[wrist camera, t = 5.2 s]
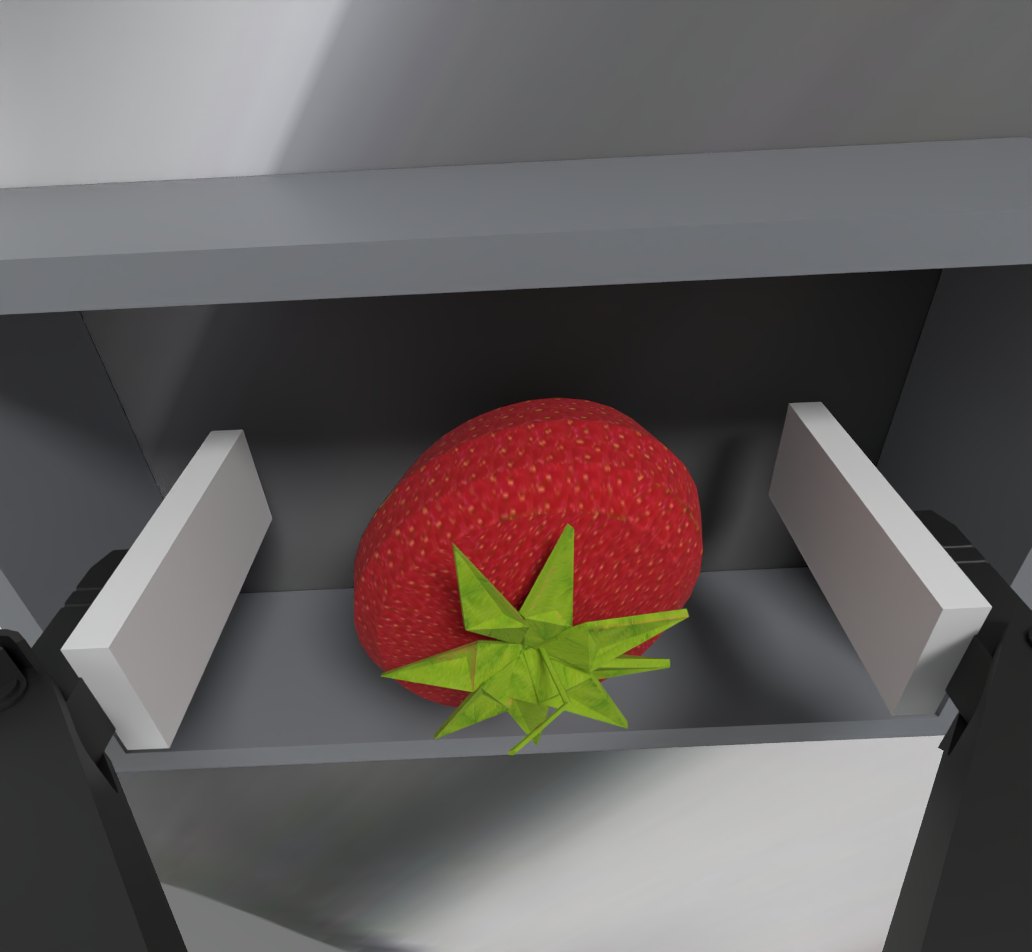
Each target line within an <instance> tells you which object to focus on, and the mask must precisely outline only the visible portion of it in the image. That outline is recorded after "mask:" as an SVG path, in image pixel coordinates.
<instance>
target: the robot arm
mask: <svg viewBox="0 0 1032 952" xmlns="http://www.w3.org/2000/svg"><path fill="white" fill-rule="evenodd" d="M768 496H769V497H770V499H771V501H772V503H773V505H774V506H775V508H776V510H777V512H778V513H779V515H780V517H781V519H782V521H783V522H784V524H785V526H786V528H787V530H788V531H789V533H790V535H791V537H792V538H793V540H794V542H795V544H796V546H797V547H798V549H799V551H800V553H801V554H802V556H803V558H804V560H805V562H806V563H807V565H808V567H809V569H810V570H811V572H812V574H813V576H814V578H815V579H816V581H817V583H818V585H819V586H820V588H821V590H822V592H823V594H824V595H825V597H826V599H827V601H828V602H829V604H830V606H831V608H832V610H833V611H834V613H835V615H836V617H837V618H838V620H839V622H840V624H841V626H842V627H843V629H844V631H845V633H846V634H847V636H848V638H849V640H850V642H851V643H852V645H853V647H854V649H855V651H856V652H857V654H858V656H859V658H860V659H861V661H862V663H863V665H864V667H865V668H866V670H867V672H868V674H869V675H870V677H871V679H872V681H873V683H874V684H875V686H876V688H877V690H878V691H879V693H880V695H881V697H882V699H883V700H884V702H885V704H886V706H887V707H888V709H889V711H890V713H891V715H892V716H895V715H918V714H935V712H936V710H937V708H938V706H939V705H940V703H941V701H942V699H943V697H944V695H945V694H946V693H947V694H948V696H949V697H950V699H951V700H952V702H953V703H954V705H955V706H956V708H957V709H958V711H959V712H958V714H957V715H956V717H955V719H954V721H953V722H952V724H951V726H950V728H949V729H948V731H947V733H946V735H945V736H944V738H943V740H942V742H941V743H940V745H939V747H938V748H940V749H942V750H944V752H943V755H942V758H941V761H940V765H939V768H938V771H937V774H936V778H935V781H934V784H933V788H932V791H931V794H930V797H929V801H928V804H927V807H926V810H925V814H924V817H923V820H922V824H921V827H920V830H919V833H918V837H917V840H916V843H915V846H914V850H913V853H912V856H911V860H910V863H909V866H908V869H907V873H906V876H905V879H904V882H903V886H902V889H901V892H900V896H899V899H898V902H897V905H896V909H895V912H894V915H893V918H892V922H891V925H890V928H889V932H888V935H887V938H886V941H885V945H884V948H883V951H882V952H1032V610H1031V609H1030V608H1029V607H1028V606H1027V605H1026V604H1025V602H1024V601H1023V600H1022V599H1021V598H1020V597H1019V596H1018V595H1017V593H1016V592H1015V591H1014V590H1013V589H1012V588H1011V587H1010V586H1009V585H1008V583H1007V582H1006V581H1005V580H1004V579H1003V578H1002V577H1001V576H1000V575H999V573H998V572H997V571H996V570H995V569H994V568H993V567H992V566H991V564H990V563H986V561H985V560H986V559H985V558H984V557H983V556H982V554H981V553H980V552H979V551H978V550H977V549H976V548H973V547H972V543H971V542H970V541H969V540H968V539H967V538H966V537H965V535H964V534H963V533H962V532H961V531H960V530H959V529H958V528H957V526H956V525H954V524H952V523H951V522H949V521H948V520H946V519H945V518H943V517H941V516H940V515H938V514H937V513H935V512H934V511H932V510H920V511H912V510H911V509H910V508H909V507H908V505H907V504H906V503H905V502H904V501H903V499H902V498H901V497H900V496H899V495H898V493H897V492H896V491H895V490H894V489H893V487H892V486H891V485H890V484H889V483H888V481H887V480H886V479H885V478H884V477H883V475H882V474H881V473H880V472H879V471H878V469H877V468H876V467H875V466H874V465H873V463H872V462H871V461H870V460H869V459H868V457H867V456H866V455H865V454H864V453H863V451H862V450H861V449H860V448H859V447H858V445H857V444H856V443H855V442H854V441H853V439H852V438H851V437H850V436H849V435H848V433H847V432H846V431H845V430H844V429H843V427H842V426H841V425H840V424H839V423H838V421H837V420H836V419H835V418H834V417H833V415H832V414H831V413H830V412H829V411H828V409H827V408H826V407H825V406H824V405H823V403H822V402H804V403H789V405H788V410H787V414H786V419H785V423H784V427H783V432H782V436H781V441H780V445H779V450H778V454H777V459H776V463H775V467H774V472H773V476H772V481H771V485H770V490H769V494H768ZM271 521H272V516H271V513H270V510H269V507H268V504H267V501H266V498H265V495H264V492H263V489H262V486H261V483H260V480H259V477H258V474H257V471H256V468H255V465H254V462H253V459H252V456H251V453H250V450H249V447H248V443H247V440H246V437H245V434H244V431H243V430H222V431H211V432H210V433H209V435H208V436H207V438H206V439H205V441H204V442H203V444H202V445H201V447H200V448H199V449H198V451H197V452H196V454H195V455H194V457H193V458H192V460H191V461H190V462H189V464H188V465H187V467H186V468H185V470H184V471H183V473H182V474H181V476H180V477H179V478H178V480H177V481H176V483H175V484H174V486H173V487H172V489H171V490H170V491H169V493H168V494H167V496H166V497H165V499H164V500H163V502H162V503H161V505H160V506H159V507H158V509H157V510H156V512H155V513H154V515H153V516H152V518H151V519H150V521H149V522H148V523H147V525H146V526H145V528H144V529H143V531H142V532H141V534H140V535H139V536H138V538H137V539H136V541H135V542H134V544H133V545H132V547H131V548H130V549H124V550H113V551H111V552H110V553H109V554H107V555H106V556H105V557H104V558H102V559H101V560H100V561H99V562H97V563H96V564H95V565H93V566H92V567H91V568H90V569H89V571H88V572H87V573H86V575H85V576H84V577H83V579H82V580H81V581H80V583H79V584H78V585H77V587H76V591H73V592H72V594H71V595H70V596H69V598H68V599H67V600H66V602H65V603H64V604H65V606H64V607H62V608H61V609H60V610H59V611H58V613H57V614H56V615H55V617H54V618H53V619H52V621H51V622H50V623H49V625H48V626H47V628H46V629H45V630H44V632H43V633H42V634H41V636H40V637H39V638H38V640H37V641H36V642H35V644H34V645H33V647H32V648H31V647H30V646H29V644H28V643H27V641H26V640H25V639H24V637H23V636H22V635H21V634H20V633H19V632H18V631H13V630H8V629H1V630H0V952H187V949H186V946H185V944H184V941H183V939H182V936H181V934H180V931H179V929H178V926H177V924H176V921H175V919H174V916H173V914H172V911H171V909H170V906H169V904H168V901H167V899H166V896H165V894H164V891H163V889H162V886H161V884H160V881H159V879H158V876H157V874H156V871H155V869H154V866H153V864H152V861H151V859H150V856H149V854H148V851H147V849H146V846H145V844H144V841H143V839H142V837H141V834H140V832H139V829H138V827H137V824H136V822H135V819H134V817H133V814H132V812H131V809H130V807H129V804H128V802H127V799H126V797H125V794H124V792H123V789H122V787H121V784H120V782H119V779H118V777H117V774H116V772H115V769H114V767H113V764H112V762H111V760H110V758H109V757H108V756H107V754H106V753H105V749H106V747H107V745H108V743H109V741H110V739H111V738H112V736H113V734H114V732H116V734H117V735H118V737H119V738H120V739H121V741H122V742H123V744H124V745H125V747H126V748H127V750H141V749H163V748H170V746H171V744H172V741H173V739H174V737H175V735H176V733H177V730H178V728H179V726H180V724H181V721H182V719H183V717H184V715H185V712H186V710H187V708H188V706H189V704H190V701H191V699H192V697H193V695H194V692H195V690H196V688H197V686H198V683H199V681H200V679H201V677H202V675H203V672H204V670H205V668H206V666H207V663H208V661H209V659H210V657H211V654H212V652H213V650H214V648H215V646H216V643H217V641H218V639H219V637H220V634H221V632H222V630H223V628H224V625H225V623H226V621H227V619H228V617H229V614H230V612H231V610H232V608H233V605H234V603H235V601H236V599H237V596H238V594H239V592H240V590H241V588H242V585H243V583H244V581H245V579H246V576H247V574H248V572H249V570H250V567H251V565H252V563H253V561H254V559H255V556H256V554H257V552H258V550H259V547H260V545H261V543H262V541H263V538H264V536H265V534H266V532H267V529H268V527H269V525H270V523H271Z"/></svg>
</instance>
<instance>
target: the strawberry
mask: <svg viewBox="0 0 1032 952" xmlns="http://www.w3.org/2000/svg"><path fill="white" fill-rule="evenodd" d="M702 554H703V542H702V525H701V510H700V504H699V498H698V492H697V487H696V485H695V483H694V481H693V479H692V477H691V476H690V474H689V472H688V470H687V468H686V466H685V465H684V464H683V463H682V462H681V461H680V460H679V459H678V458H677V457H676V456H675V455H674V454H673V453H672V452H671V451H670V450H669V449H668V448H667V447H666V446H664V445H663V444H662V443H661V442H660V441H658V440H657V439H656V438H655V437H654V436H652V435H651V434H650V433H649V432H648V431H647V430H645V429H644V428H643V427H642V426H641V425H639V424H638V423H637V422H636V421H635V420H633V419H632V418H630V417H629V416H627V415H625V414H623V413H621V412H620V411H618V410H616V409H614V408H612V407H610V406H606V405H602V404H599V403H595V402H592V401H588V400H581V399H568V398H548V399H537V400H527V401H523V402H519V403H516V404H512V405H508V406H504V407H500V408H497V409H494V410H492V411H490V412H487V413H485V414H482V415H480V416H477V417H475V418H472V419H470V420H468V421H467V422H465V423H463V424H462V425H460V426H458V427H457V428H455V429H453V430H451V431H450V432H448V433H446V434H445V435H444V436H442V437H441V438H440V439H439V440H438V441H436V442H435V443H434V444H433V445H432V446H430V447H429V448H428V449H427V450H425V451H424V452H423V453H422V454H421V456H420V457H419V458H418V459H417V460H416V461H415V463H414V464H413V465H412V466H411V467H410V468H409V469H408V471H407V472H406V473H405V474H404V476H403V477H402V478H401V480H400V481H399V482H398V484H397V485H396V486H395V488H394V489H393V490H392V491H391V493H390V494H389V495H388V497H387V498H386V499H385V501H384V502H383V503H382V505H381V506H380V507H379V508H378V510H377V511H376V512H375V514H374V516H373V518H372V519H371V521H370V523H369V525H368V527H367V528H366V530H365V532H364V534H363V535H362V537H361V540H360V544H359V547H358V551H357V554H356V558H355V561H354V624H355V627H356V630H357V634H358V637H359V641H360V643H361V645H362V646H363V648H364V649H365V651H366V653H367V654H368V656H369V657H370V659H371V660H372V661H373V662H374V663H375V664H376V665H377V666H378V667H380V668H381V669H382V670H383V671H384V673H382V674H381V677H387V678H393V679H394V680H395V681H397V682H398V683H399V684H401V685H402V686H403V687H405V688H406V689H408V690H410V691H411V692H413V693H415V694H417V695H419V696H420V697H422V698H424V699H427V700H430V701H433V702H436V703H439V704H442V705H446V706H452V707H457V709H456V710H455V711H454V712H453V713H452V714H451V715H450V717H449V718H448V719H447V720H446V721H445V722H444V723H443V724H442V726H441V727H440V728H439V729H438V730H437V731H436V732H435V734H434V739H437V738H440V737H442V736H445V735H447V734H450V733H452V732H455V731H457V730H460V729H462V728H465V727H468V726H470V725H473V724H475V723H478V722H480V721H483V720H485V719H488V718H490V717H493V716H496V715H498V714H501V713H503V712H506V711H507V712H508V713H509V714H510V715H511V716H512V718H513V719H514V720H515V721H516V722H517V724H518V725H519V726H520V727H521V728H522V729H523V731H524V732H525V733H526V734H527V736H525V737H524V738H523V739H522V740H521V741H520V742H519V743H517V744H516V745H515V746H514V747H513V748H512V749H510V750H509V751H508V755H514V754H516V753H517V752H518V751H519V750H520V749H521V748H522V747H523V746H525V745H526V744H527V743H528V742H529V741H530V740H532V741H533V743H534V744H535V745H536V746H537V744H538V742H539V740H540V737H541V734H542V731H543V729H544V728H545V727H546V726H547V725H548V724H549V723H551V722H552V721H553V720H554V719H555V718H556V717H557V716H559V715H560V714H561V713H562V712H563V711H568V712H571V713H575V714H578V715H582V716H585V717H589V718H592V719H596V720H599V721H603V722H606V723H610V724H613V725H616V726H620V727H623V728H627V729H628V721H627V720H626V719H625V717H624V716H623V714H622V713H621V712H620V710H619V709H618V707H617V706H616V705H615V703H614V702H613V700H612V699H611V697H610V696H609V695H608V693H607V692H606V690H605V689H604V688H603V686H602V685H601V682H603V681H604V680H606V679H608V678H610V677H616V676H622V675H628V674H634V673H640V672H646V671H653V670H659V669H665V668H670V659H663V658H653V657H644V656H641V655H642V654H643V653H644V652H645V651H646V650H647V649H648V648H649V647H650V646H651V645H652V644H653V643H654V642H655V641H656V640H657V639H658V638H659V636H660V635H661V634H662V633H663V632H664V630H666V629H668V628H670V627H672V626H673V625H675V624H677V623H679V622H681V621H682V620H684V619H686V618H688V617H689V615H688V611H687V609H682V607H683V606H684V604H685V603H686V602H687V600H688V599H689V597H690V595H691V593H692V591H693V588H694V586H695V584H696V581H697V579H698V577H699V574H700V568H701V561H702ZM549 707H554V708H557V710H555V711H554V712H553V713H552V714H551V715H550V716H549V717H547V714H548V710H549ZM546 717H547V718H546Z"/></svg>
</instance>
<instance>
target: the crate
mask: <svg viewBox="0 0 1032 952" xmlns="http://www.w3.org/2000/svg"><path fill="white" fill-rule="evenodd" d="M936 268H943V270H942V273H941V276H940V279H939V282H938V285H937V288H936V291H935V294H934V297H933V300H932V303H931V306H930V309H929V312H928V315H927V318H926V321H925V324H924V327H923V330H922V333H921V336H920V339H919V342H918V345H917V348H916V351H915V354H914V357H913V360H912V363H911V366H910V369H909V372H908V375H907V378H906V381H905V384H904V387H903V390H902V393H901V395H900V398H899V401H898V404H897V407H896V410H895V413H894V416H893V419H892V422H891V425H890V428H889V431H888V434H887V437H886V440H885V443H884V446H883V449H882V452H881V455H880V458H879V461H878V464H877V467H876V468H877V469H878V471H879V472H880V473H881V474H882V475H883V477H884V478H885V479H886V480H887V481H888V483H889V484H890V485H891V486H892V487H893V489H894V490H895V491H896V492H897V493H898V495H899V496H900V497H901V498H902V499H903V501H904V502H905V503H906V504H907V505H908V507H909V508H910V509H911V510H912V511H920V510H932V511H934V512H935V513H937V514H938V515H940V516H941V517H943V518H945V519H946V520H948V521H949V522H951V523H952V524H954V525H956V526H957V528H958V529H959V530H960V531H961V532H962V533H963V534H964V535H965V537H966V538H967V539H968V540H969V541H970V542H971V543H972V547H973V548H976V549H977V550H978V551H979V552H980V553H981V554H982V556H983V557H984V558H985V559H986V560H985V561H986V563H990V564H991V566H992V567H993V568H994V569H995V570H996V571H997V572H998V573H999V575H1000V576H1001V577H1002V578H1003V579H1004V580H1005V581H1006V582H1007V583H1008V585H1009V586H1010V587H1011V588H1012V589H1013V590H1014V591H1015V592H1016V593H1017V595H1018V596H1019V597H1020V598H1021V599H1022V600H1023V601H1024V602H1025V604H1026V605H1027V606H1028V607H1029V608H1030V609H1031V610H1032V139H1031V138H1027V137H1014V138H994V139H974V140H954V141H935V142H915V143H895V144H875V145H856V146H836V147H816V148H796V149H777V150H757V151H737V152H717V153H698V154H678V155H658V156H638V157H619V158H599V159H579V160H559V161H539V162H520V163H500V164H480V165H460V166H441V167H421V168H401V169H381V170H362V171H342V172H322V173H302V174H283V175H263V176H243V177H223V178H204V179H184V180H164V181H144V182H124V183H105V184H85V185H65V186H45V187H26V188H6V189H0V627H1V628H2V629H8V630H13V631H18V632H19V633H20V634H21V635H22V636H23V637H24V639H25V640H26V641H27V643H28V644H29V646H30V647H31V648H32V647H33V645H34V644H35V642H36V641H37V640H38V638H39V637H40V636H41V634H42V633H43V632H44V630H45V629H46V628H47V626H48V625H49V623H50V622H51V621H52V619H53V618H54V617H55V615H56V614H57V613H58V611H59V610H60V609H61V608H62V607H64V606H65V604H64V603H65V602H66V600H67V599H68V598H69V596H70V595H71V594H72V592H73V591H76V587H77V585H78V584H79V583H80V581H81V580H82V579H83V577H84V576H85V575H86V573H87V572H88V571H89V569H90V568H91V567H92V566H93V565H95V564H96V563H97V562H99V561H100V560H101V559H102V558H104V557H105V556H106V555H107V554H109V553H110V552H111V551H113V550H124V549H130V548H131V547H132V545H133V544H134V542H135V541H136V539H137V538H138V536H139V535H140V534H141V532H142V531H143V529H144V528H145V526H146V525H147V523H148V522H149V521H150V519H151V518H152V516H153V515H154V513H155V512H156V510H157V509H158V507H159V506H160V505H161V503H162V502H163V498H162V496H161V494H160V492H159V489H158V487H157V485H156V483H155V480H154V478H153V476H152V474H151V471H150V469H149V467H148V465H147V463H146V460H145V458H144V456H143V454H142V451H141V449H140V447H139V445H138V442H137V440H136V438H135V436H134V433H133V431H132V429H131V427H130V424H129V422H128V420H127V418H126V415H125V413H124V411H123V409H122V406H121V404H120V402H119V400H118V397H117V395H116V393H115V391H114V388H113V386H112V384H111V382H110V379H109V377H108V375H107V373H106V370H105V368H104V366H103V364H102V361H101V359H100V357H99V355H98V353H97V350H96V348H95V346H94V344H93V341H92V339H91V337H90V335H89V332H88V330H87V328H86V326H85V323H84V321H83V319H82V317H81V314H80V312H79V311H86V310H106V309H126V308H146V307H167V306H187V305H207V304H227V303H248V302H268V301H288V300H308V299H329V298H349V297H369V296H389V295H410V294H430V293H450V292H471V291H491V290H511V289H531V288H552V287H572V286H592V285H612V284H633V283H653V282H673V281H693V280H714V279H734V278H754V277H774V276H795V275H815V274H835V273H855V272H876V271H896V270H916V269H936ZM682 609H687V611H688V615H689V617H688V618H686V619H684V620H682V621H681V622H679V623H677V624H675V625H673V626H672V627H670V628H668V629H666V630H664V632H663V633H662V634H661V635H660V636H659V638H658V639H657V640H656V641H655V642H654V643H653V644H652V645H651V646H650V647H649V648H648V649H647V650H646V651H645V652H644V653H643V654H642V655H641V656H644V657H653V658H663V659H670V668H665V669H659V670H653V671H646V672H640V673H634V674H628V675H622V676H616V677H610V678H608V679H606V680H604V681H603V682H601V685H602V686H603V688H604V689H605V690H606V692H607V693H608V695H609V696H610V697H611V699H612V700H613V702H614V703H615V705H616V706H617V707H618V709H619V710H620V712H621V713H622V714H623V716H624V717H625V719H626V720H627V721H628V729H627V728H623V727H620V726H616V725H613V724H610V723H606V722H603V721H599V720H596V719H592V718H589V717H585V716H582V715H578V714H575V713H571V712H568V711H563V712H562V713H561V714H560V715H559V716H557V717H556V718H555V719H554V720H553V721H552V722H551V723H549V724H548V725H547V726H546V727H545V728H544V729H543V731H542V734H541V737H540V740H539V742H538V744H537V746H536V745H535V744H534V743H533V741H532V740H530V741H529V742H528V743H527V744H526V745H525V746H523V747H522V748H521V749H520V750H519V751H518V752H517V753H516V754H535V753H557V752H580V751H602V750H624V749H647V748H669V747H691V746H714V745H736V744H758V743H781V742H803V741H825V740H848V739H870V738H892V737H915V736H937V735H946V733H947V731H948V729H949V728H950V726H951V724H952V722H953V721H954V719H955V717H956V715H957V714H958V712H959V711H958V709H957V708H956V706H955V705H954V703H953V702H952V700H951V699H950V697H949V696H948V694H947V693H946V694H945V695H944V697H943V699H942V701H941V703H940V705H939V706H938V708H937V710H936V712H935V714H918V715H895V716H892V715H891V713H890V711H889V709H888V707H887V706H886V704H885V702H884V700H883V699H882V697H881V695H880V693H879V691H878V690H877V688H876V686H875V684H874V683H873V681H872V679H871V677H870V675H869V674H868V672H867V670H866V668H865V667H864V665H863V663H862V661H861V659H860V658H859V656H858V654H857V652H856V651H855V649H854V647H853V645H852V643H851V642H850V640H849V638H848V636H847V634H846V633H845V631H844V629H843V627H842V626H841V624H840V622H839V620H838V618H837V617H836V615H835V613H834V611H833V610H832V608H831V606H830V604H829V602H828V601H827V599H826V597H825V595H824V594H823V592H822V590H821V588H820V586H819V585H818V583H817V581H816V579H815V578H814V576H813V574H812V572H811V570H810V569H809V567H800V568H778V569H757V570H735V571H714V572H700V574H699V577H698V579H697V581H696V584H695V586H694V588H693V591H692V593H691V595H690V597H689V599H688V600H687V602H686V603H685V604H684V606H683V607H682ZM382 673H384V671H383V670H382V669H381V668H380V667H378V666H377V665H376V664H375V663H374V662H373V661H372V660H371V659H370V657H369V656H368V654H367V653H366V651H365V649H364V648H363V646H362V645H361V643H360V641H359V637H358V634H357V630H356V627H355V624H354V588H348V589H327V590H305V591H284V592H262V593H241V594H238V596H237V599H236V601H235V603H234V605H233V608H232V610H231V612H230V614H229V617H228V619H227V621H226V623H225V625H224V628H223V630H222V632H221V634H220V637H219V639H218V641H217V643H216V646H215V648H214V650H213V652H212V654H211V657H210V659H209V661H208V663H207V666H206V668H205V670H204V672H203V675H202V677H201V679H200V681H199V683H198V686H197V688H196V690H195V692H194V695H193V697H192V699H191V701H190V704H189V706H188V708H187V710H186V712H185V715H184V717H183V719H182V721H181V724H180V726H179V728H178V730H177V733H176V735H175V737H174V739H173V741H172V744H171V746H170V748H163V749H141V750H127V748H126V747H125V745H124V744H123V742H122V741H121V739H120V738H119V737H118V735H117V734H116V732H114V734H113V736H112V738H111V739H110V741H109V743H108V745H107V747H106V749H105V753H106V754H107V756H108V757H109V758H110V760H111V762H112V764H113V767H114V769H115V772H133V771H156V770H178V769H200V768H223V767H245V766H267V765H290V764H312V763H334V762H357V761H379V760H401V759H423V758H446V757H468V756H490V755H508V751H509V750H510V749H512V748H513V747H514V746H515V745H516V744H517V743H519V742H520V741H521V740H522V739H523V738H524V737H525V736H527V734H526V733H525V732H524V731H523V729H522V728H521V727H520V726H519V725H518V724H517V722H516V721H515V720H514V719H513V718H512V716H511V715H510V714H509V713H508V712H507V711H506V712H503V713H501V714H498V715H496V716H493V717H490V718H488V719H485V720H483V721H480V722H478V723H475V724H473V725H470V726H468V727H465V728H462V729H460V730H457V731H455V732H452V733H450V734H447V735H445V736H442V737H440V738H437V739H434V734H435V732H436V731H437V730H438V729H439V728H440V727H441V726H442V724H443V723H444V722H445V721H446V720H447V719H448V718H449V717H450V715H451V714H452V713H453V712H454V711H455V710H456V709H457V707H452V706H446V705H442V704H439V703H436V702H433V701H430V700H427V699H424V698H422V697H420V696H419V695H417V694H415V693H413V692H411V691H410V690H408V689H406V688H405V687H403V686H402V685H401V684H399V683H398V682H397V681H395V680H394V679H393V678H387V677H381V674H382ZM555 710H557V708H554V707H549V710H548V714H547V717H549V716H550V715H551V714H552V713H553V712H554V711H555ZM547 717H546V718H547Z"/></svg>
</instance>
